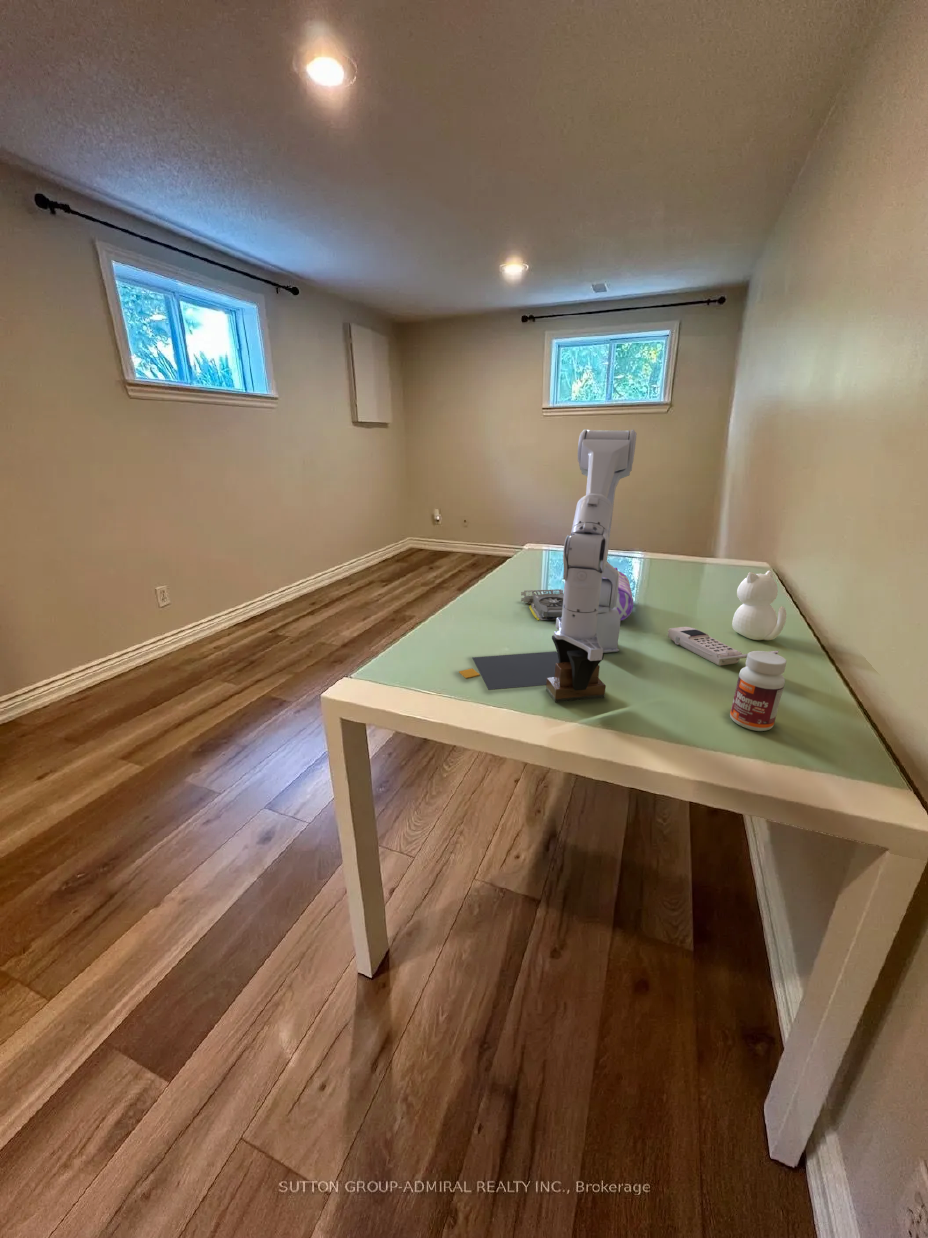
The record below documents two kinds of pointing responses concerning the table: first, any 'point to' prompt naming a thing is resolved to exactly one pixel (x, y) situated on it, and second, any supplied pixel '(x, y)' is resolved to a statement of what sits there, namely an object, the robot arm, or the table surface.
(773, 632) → the cat figurine
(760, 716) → the pill bottle
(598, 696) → the brown stepped block
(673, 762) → the table surface
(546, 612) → the graphics card
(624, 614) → the pencil case
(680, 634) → the mobile phone
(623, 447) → the robot arm
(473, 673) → the mustard square tile
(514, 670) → the mat
